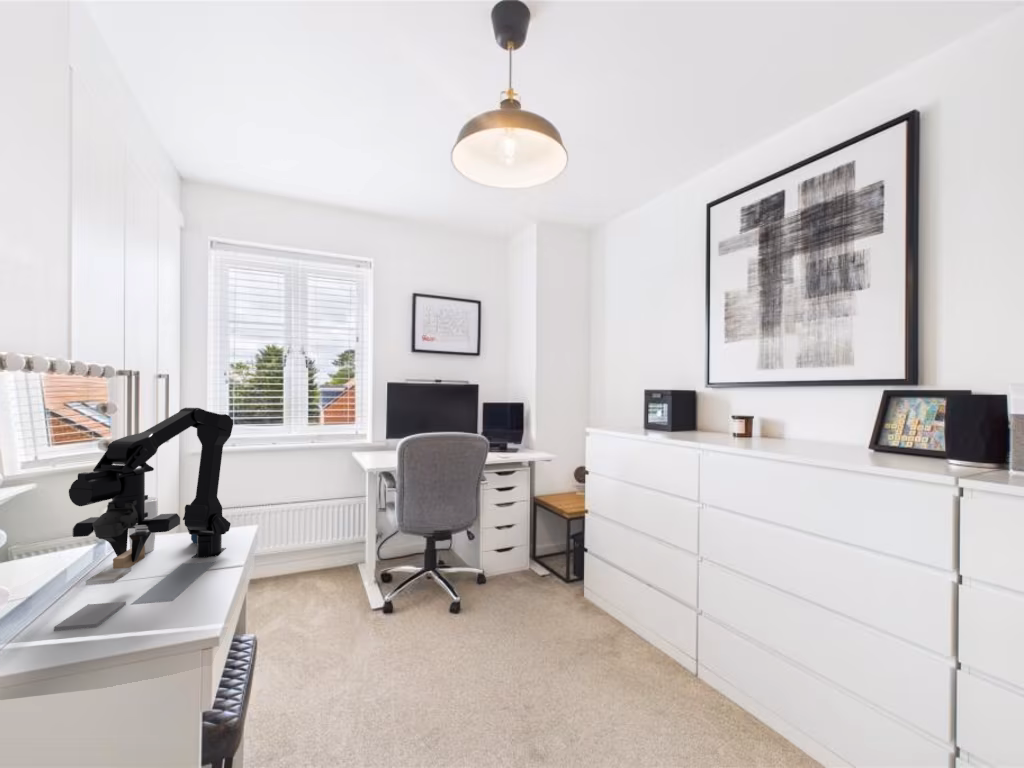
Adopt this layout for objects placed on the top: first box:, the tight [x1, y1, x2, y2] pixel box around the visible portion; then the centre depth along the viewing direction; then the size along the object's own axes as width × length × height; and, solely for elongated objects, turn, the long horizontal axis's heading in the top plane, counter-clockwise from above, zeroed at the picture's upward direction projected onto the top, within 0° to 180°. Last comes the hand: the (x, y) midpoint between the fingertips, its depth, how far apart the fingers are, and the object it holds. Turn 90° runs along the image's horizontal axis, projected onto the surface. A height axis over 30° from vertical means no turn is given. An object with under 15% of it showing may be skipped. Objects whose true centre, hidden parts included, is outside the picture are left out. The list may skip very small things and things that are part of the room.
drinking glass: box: [128, 496, 159, 554], centre depth 127 cm, size 7×7×15 cm
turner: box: [85, 545, 146, 586], centre depth 101 cm, size 14×5×3 cm, turn 12°
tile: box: [53, 601, 127, 632], centre depth 92 cm, size 2×7×9 cm
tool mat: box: [131, 561, 217, 605], centre depth 109 cm, size 22×8×1 cm, turn 12°
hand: (128, 561), depth 103 cm, fingers closed on turner, 2 cm apart
